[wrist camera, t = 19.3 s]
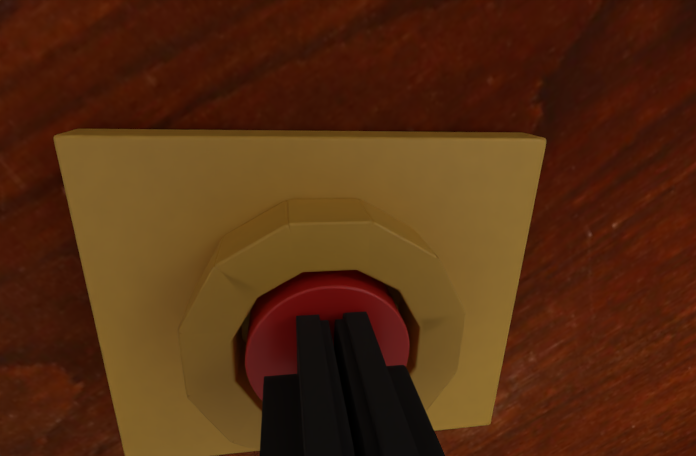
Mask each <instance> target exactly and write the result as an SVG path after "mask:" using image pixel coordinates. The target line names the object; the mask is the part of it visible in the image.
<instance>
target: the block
mask: <svg viewBox="0 0 696 456" xmlns="http://www.w3.org/2000/svg"><path fill="white" fill-rule="evenodd" d="M54 143H55V148H56V152H57V157H58V161H59V166H60V170H61V175H62V179H63V183H64V188H65V192H66V197H67V201H68V206H69V210H70V215H71V219H72V223H73V228H74V232H75V237H76V241H77V246H78V250H79V254H80V259H81V263H82V268H83V272H84V277H85V281H86V286H87V290H88V294H89V299H90V303H91V308H92V312H93V317H94V321H95V326H96V330H97V334H98V339H99V343H100V348H101V352H102V357H103V361H104V366H105V370H106V374H107V379H108V383H109V388H110V392H111V397H112V401H113V406H114V410H115V414H116V419H117V423H118V428H119V432H120V437H121V441H122V446H123V450H124V454H125V456H214V455H223V454H232V453H241V452H250V451H260V439H261V420H262V400H261V399H260V398H259V397H258V396H257V394H256V393H255V392H254V390H253V388H252V386H251V384H250V382H249V380H248V377H247V374H246V368H245V351H246V343H247V335H248V327H249V319H250V312H251V308H252V306H253V305H254V303H255V301H256V299H257V298H258V297H260V296H262V295H263V294H265V293H267V292H269V291H270V290H272V289H274V288H276V287H278V286H279V285H281V284H283V283H285V282H286V281H288V280H290V279H292V278H293V277H295V276H297V275H299V274H301V273H302V272H319V271H341V270H358V271H360V272H362V273H364V274H366V275H368V276H370V277H372V278H374V279H376V280H378V281H380V282H382V283H384V284H385V285H386V287H387V289H388V291H389V293H390V295H391V297H392V299H393V301H394V303H395V305H396V307H397V309H398V311H399V313H400V315H401V317H402V319H403V321H404V323H405V325H406V328H407V331H408V335H409V342H410V346H409V357H408V362H407V365H406V368H407V370H408V372H409V374H410V376H411V379H412V381H413V383H414V386H415V388H416V390H417V392H418V395H419V397H420V399H421V402H422V404H423V406H424V409H425V411H426V413H427V415H428V418H429V420H430V422H431V425H432V427H433V429H434V431H438V430H447V429H456V428H465V427H474V426H483V425H489V424H490V423H491V418H492V413H493V408H494V403H495V398H496V393H497V388H498V383H499V378H500V373H501V368H502V363H503V358H504V353H505V347H506V342H507V337H508V332H509V327H510V322H511V317H512V312H513V307H514V302H515V297H516V292H517V287H518V282H519V277H520V272H521V267H522V262H523V257H524V252H525V247H526V242H527V237H528V232H529V227H530V222H531V217H532V212H533V207H534V202H535V197H536V192H537V187H538V182H539V177H540V172H541V166H542V161H543V156H544V151H545V146H546V139H545V138H543V137H539V136H535V135H531V134H527V133H521V132H406V131H291V130H176V129H75V130H72V131H68V132H64V133H61V134H57V135H55V136H54Z"/></svg>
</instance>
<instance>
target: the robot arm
mask: <svg viewBox="0 0 696 456" xmlns="http://www.w3.org/2000/svg"><path fill="white" fill-rule="evenodd" d="M296 340H297V374H287V375H275V376H264V383H263V401H262V420H261V439H260V456H445V455H444V452H443V450H442V448H441V445H440V443H439V441H438V438H437V436H436V434H435V432H434V429H433V427H432V425H431V422H430V420H429V418H428V415H427V413H426V411H425V409H424V406H423V404H422V402H421V399H420V397H419V395H418V392H417V390H416V388H415V386H414V383H413V381H412V379H411V376H410V374H409V372H408V370H407V368H406V366H404V365H394V366H386V363H385V360H384V358H383V355H382V352H381V349H380V347H379V344H378V341H377V339H376V336H375V333H374V330H373V328H372V325H371V322H370V320H369V317H368V314H367V312H349V313H343V317H342V319H335V323H334V345H333V340H332V335H331V330H330V325H329V321H328V320H320V316H319V314H317V315H301V316H296Z"/></svg>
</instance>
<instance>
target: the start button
mask: <svg viewBox="0 0 696 456" xmlns="http://www.w3.org/2000/svg"><path fill="white" fill-rule="evenodd" d="M349 312H367V314H368V317H369V320H370V322H371V325H372V328H373V330H374V333H375V336H376V339H377V341H378V344H379V347H380V349H381V352H382V355H383V358H384V360H385V363H386V366H394V365H404V366H406V365H407V362H408V357H409V346H410V342H409V335H408V331H407V328H406V325H405V323H404V321H403V319H402V317H401V315H400V313H399V311H398V309H397V307H396V305H395V303H394V301H393V299H392V297H391V295H390V293H389V291H388V289H387V287H386V285H385V284H384V283H382V282H380V281H378V280H376V279H374V278H372V277H370V276H368V275H366V274H364V273H362V272H360V271H358V270H341V271H319V272H302V273H301V274H299V275H297V276H295V277H293V278H292V279H290V280H288V281H286V282H285V283H283V284H281V285H279V286H278V287H276V288H274V289H272V290H270V291H269V292H267V293H265V294H263V295H262V296H260V297H258V298H257V299H256V301H255V303H254V305H253V306H252V308H251V312H250V319H249V327H248V335H247V343H246V351H245V368H246V374H247V377H248V380H249V382H250V384H251V386H252V388H253V390H254V392H255V393H256V394H257V396H258V397H259V398H260V399H261V400H262V401H263V383H264V376H275V375H287V374H297V340H296V316H301V315H317V314H319V316H320V320H328V321H329V325H330V330H331V335H332V340H333V345H334V323H335V319H342V317H343V313H349Z"/></svg>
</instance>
